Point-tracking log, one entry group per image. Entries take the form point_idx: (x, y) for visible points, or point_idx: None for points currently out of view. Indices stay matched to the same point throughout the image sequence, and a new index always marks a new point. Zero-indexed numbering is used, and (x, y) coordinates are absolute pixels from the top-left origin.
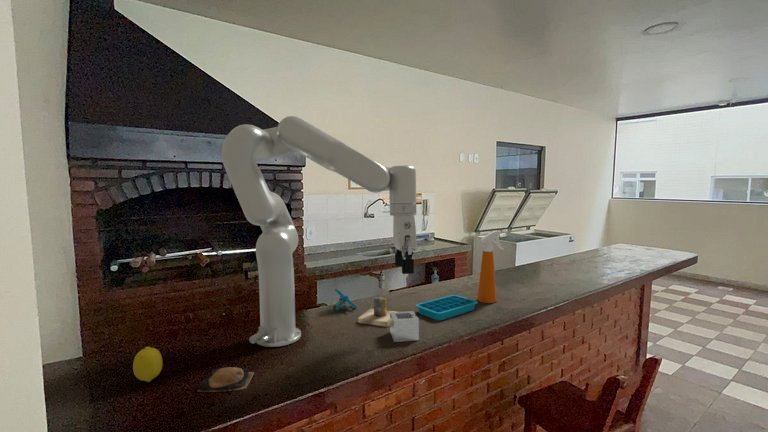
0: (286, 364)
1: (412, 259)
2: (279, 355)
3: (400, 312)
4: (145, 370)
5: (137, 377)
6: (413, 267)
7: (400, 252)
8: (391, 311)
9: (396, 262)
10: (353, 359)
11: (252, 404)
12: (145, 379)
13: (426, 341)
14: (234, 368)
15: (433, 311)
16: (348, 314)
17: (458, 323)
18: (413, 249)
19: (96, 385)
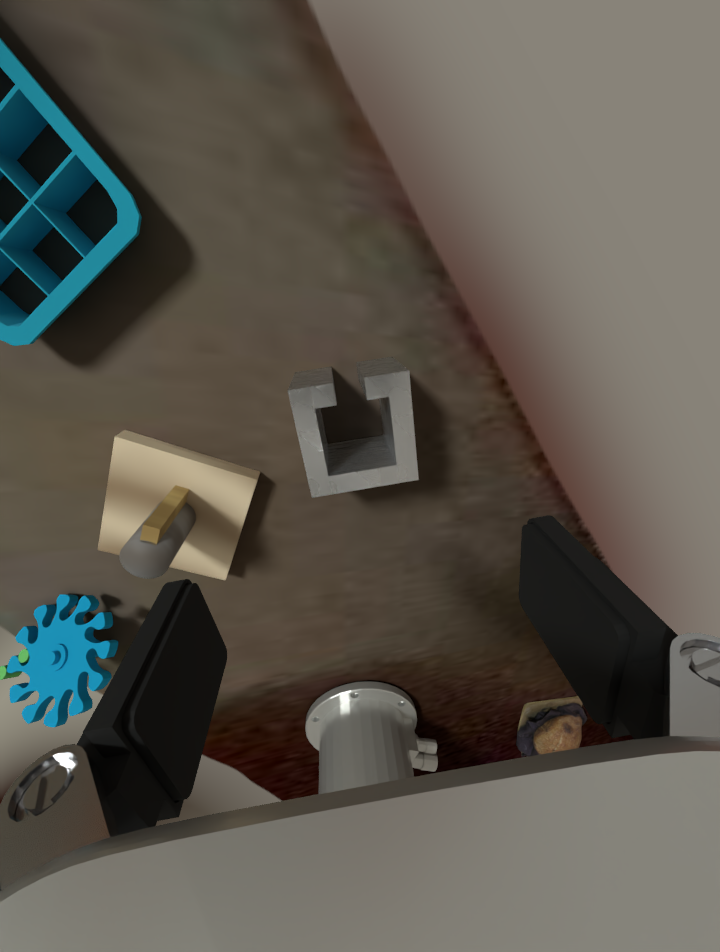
0: (501, 668)
1: (653, 633)
2: (455, 690)
3: (311, 453)
4: None
5: None
6: (581, 549)
7: (143, 785)
8: (117, 466)
9: (217, 685)
10: (504, 550)
11: None
12: None
13: (403, 326)
14: (560, 741)
15: (109, 246)
16: (148, 605)
17: (166, 93)
18: (518, 761)
19: None
